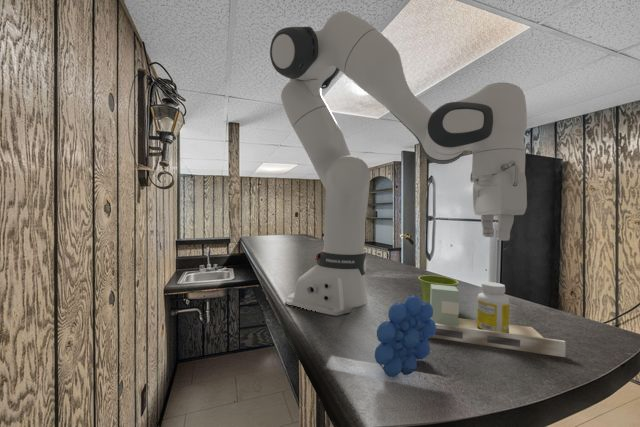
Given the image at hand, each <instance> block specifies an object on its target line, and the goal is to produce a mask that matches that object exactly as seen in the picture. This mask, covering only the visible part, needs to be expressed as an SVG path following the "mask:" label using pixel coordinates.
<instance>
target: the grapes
mask: <svg viewBox="0 0 640 427" xmlns="http://www.w3.org/2000/svg"><path fill="white" fill-rule="evenodd" d="M432 316H433V308H432V306H431V304H430V303H428V302H423V301H422V300H421V298H420V297H419V296H418V295H409V296H408V297H407V298H406V299H405V300H404V303H402V302H395V303H394V304H392V305H391V306H390V307H389V310H388V318H389V321H388V320H385V321H383V322H381V323H380V324H379V325H378V327H377V329H376V338H377V340H378V342H380V343H379V344H378V345H377V346H376V347H375V350H374V358H375V359H374V360H375V361H376V363H377V364H379V365H380V366H383V371H384V374H385V375H386V376H387V377H388V378H395V377H397V376H398V375H400V374H402V375H406V376H407V375H411V374H413V373H414V372H415V370H417V367H418V360H423V359H426V358H427V357H428V356H429V355H430V352H431V347H430V346H431V344H430V343H429V341H428V339H432V337H433V336H434V335H435V333H436V324H435V322H434V321H433V320H432V319H430V318H431V317H432Z"/></svg>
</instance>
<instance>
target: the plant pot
mask: <svg viewBox="0 0 640 427" xmlns="http://www.w3.org/2000/svg"><path fill="white" fill-rule="evenodd" d="M418 280H419V284H420V286H421V294H422V302H428V303H430V286H431V284H434V285H444V286H455V287H456V288H457V286H458V285H459V283H460V282H459V281H458V280H456V279H454V278H451V277H447V276H443V275H442V276H441V275H433V274H432V275H430V274H429V275H427V274H425V275H420V276H418Z"/></svg>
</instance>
